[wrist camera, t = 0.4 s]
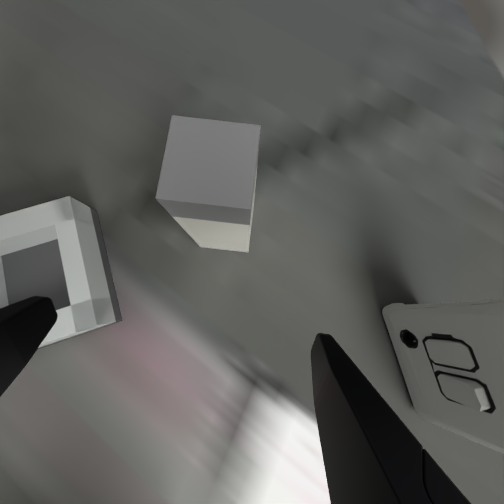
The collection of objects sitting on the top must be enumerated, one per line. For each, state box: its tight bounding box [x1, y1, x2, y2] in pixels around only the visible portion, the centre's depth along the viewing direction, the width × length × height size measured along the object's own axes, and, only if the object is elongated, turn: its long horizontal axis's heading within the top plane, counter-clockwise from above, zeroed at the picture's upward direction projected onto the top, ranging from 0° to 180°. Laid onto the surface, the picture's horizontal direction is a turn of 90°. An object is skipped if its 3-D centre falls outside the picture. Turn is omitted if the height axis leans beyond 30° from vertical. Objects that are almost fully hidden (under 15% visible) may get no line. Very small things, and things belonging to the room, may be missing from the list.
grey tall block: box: [155, 115, 261, 252], centre depth 17 cm, size 4×4×11 cm
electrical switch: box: [382, 298, 504, 454], centre depth 16 cm, size 9×5×9 cm, turn 14°
